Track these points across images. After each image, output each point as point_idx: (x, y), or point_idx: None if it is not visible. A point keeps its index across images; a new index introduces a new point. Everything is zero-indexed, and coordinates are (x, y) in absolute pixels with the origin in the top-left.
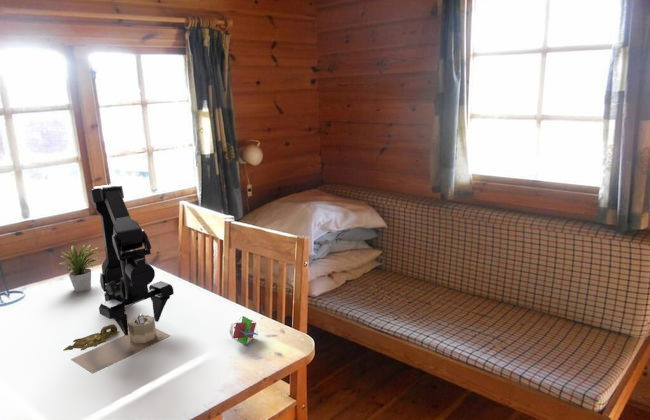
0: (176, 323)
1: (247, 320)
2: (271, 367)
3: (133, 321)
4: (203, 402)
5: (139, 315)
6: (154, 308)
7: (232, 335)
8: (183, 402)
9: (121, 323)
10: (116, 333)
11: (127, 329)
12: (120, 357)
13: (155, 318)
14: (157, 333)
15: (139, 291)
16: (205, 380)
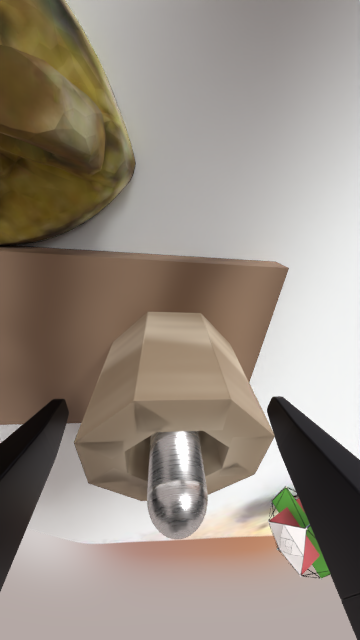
0: (352, 331)
1: (325, 565)
2: (226, 534)
3: (132, 439)
4: (106, 538)
5: (167, 536)
6: (345, 507)
7: (272, 531)
8: (84, 531)
9: None
10: (90, 179)
11: (41, 479)
12: (20, 413)
13: (280, 420)
14: None
15: None
16: (144, 519)
